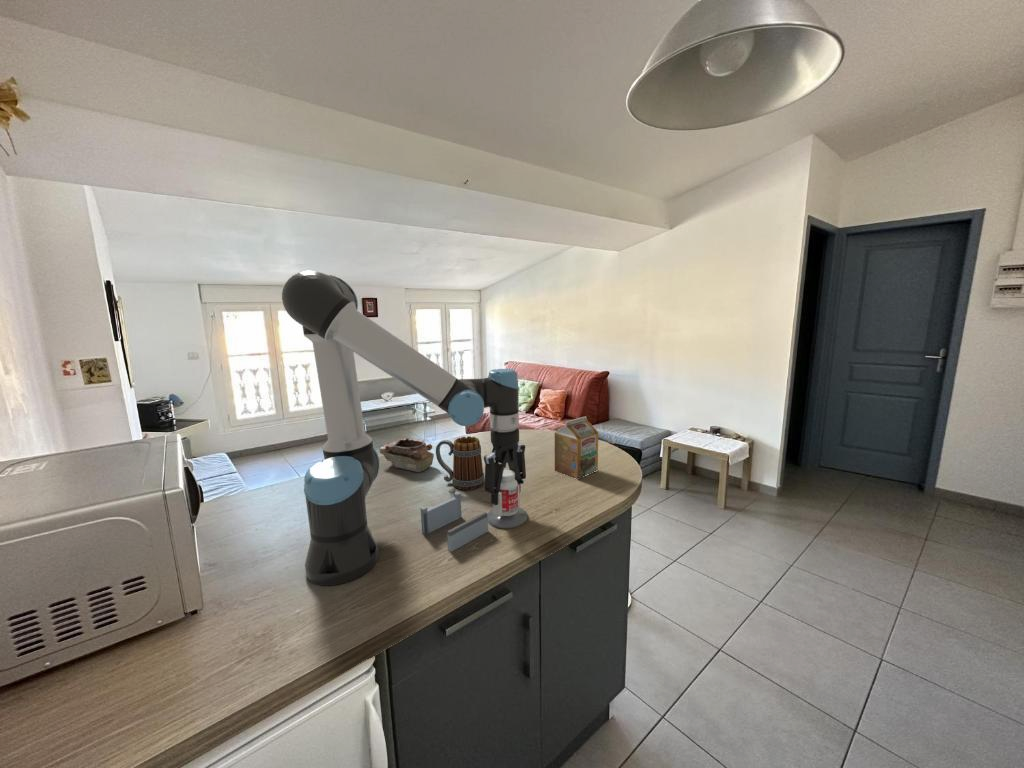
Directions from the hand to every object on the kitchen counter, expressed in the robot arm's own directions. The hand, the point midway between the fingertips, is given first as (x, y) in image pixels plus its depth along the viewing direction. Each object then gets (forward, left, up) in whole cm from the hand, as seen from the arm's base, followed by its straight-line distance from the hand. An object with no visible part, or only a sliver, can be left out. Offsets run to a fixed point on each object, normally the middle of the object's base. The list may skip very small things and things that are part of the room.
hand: (506, 509), depth 107 cm
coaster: (0, 0, -2) cm, 2 cm away
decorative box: (+1, +54, -3) cm, 54 cm away
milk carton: (+39, +4, -3) cm, 39 cm away
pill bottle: (0, 0, -1) cm, 1 cm away
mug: (+6, +27, -3) cm, 28 cm away
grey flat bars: (-14, +5, -2) cm, 15 cm away
